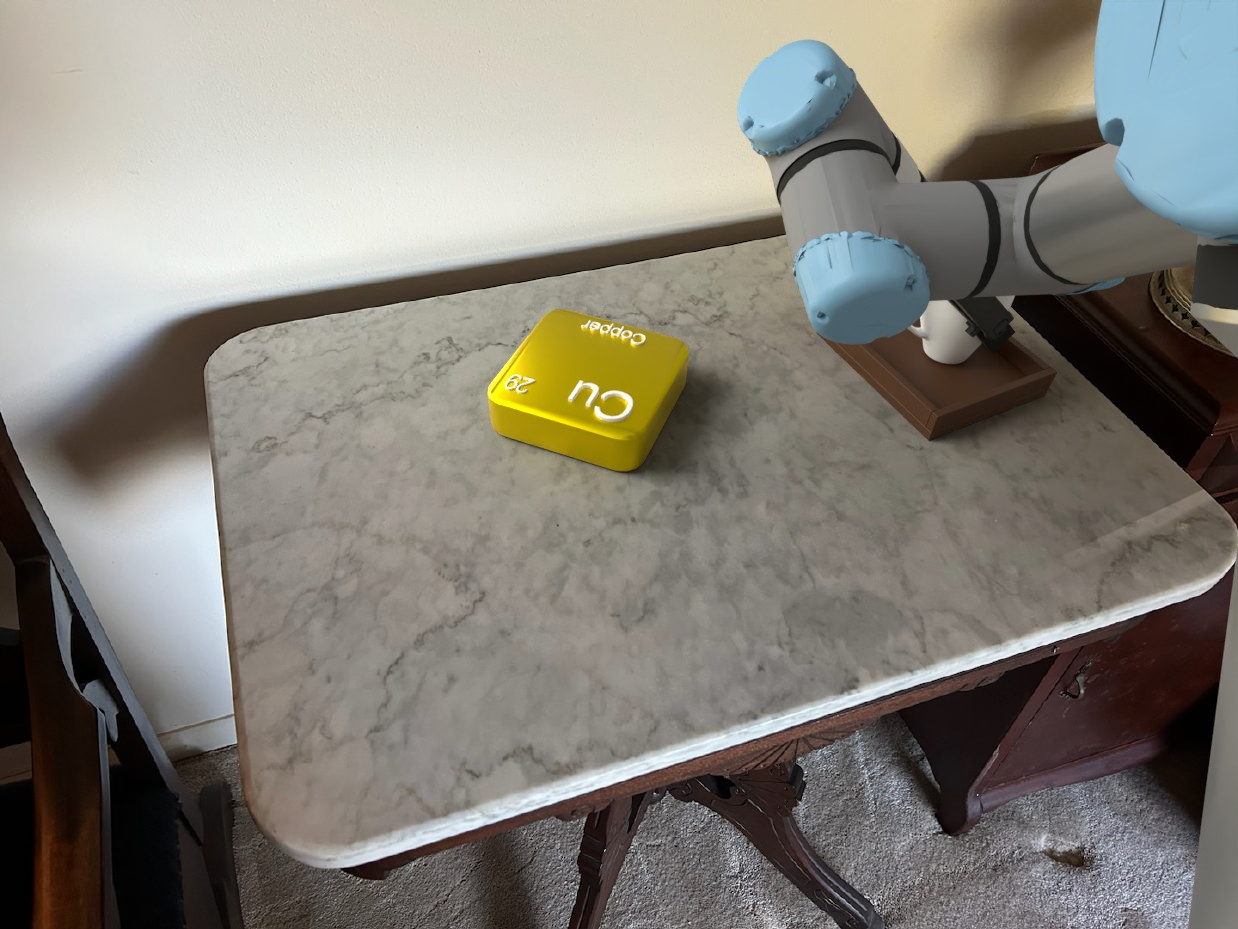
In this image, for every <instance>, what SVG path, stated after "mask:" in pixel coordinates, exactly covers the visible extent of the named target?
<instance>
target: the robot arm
mask: <svg viewBox="0 0 1238 929" xmlns="http://www.w3.org/2000/svg"><path fill="white" fill-rule="evenodd" d="M1100 3H1101V4H1100V8H1099V14H1098V20H1097V27H1096V35H1095V43H1094V54H1093V55H1094V56H1093V93H1094V94H1093V95H1094V108H1095V113H1096V119H1097V123H1098V128H1099V131H1100V133H1101V137H1102V139H1103V141H1104V142H1107V143H1105V144H1104V145H1101V146H1099V147H1097V148H1094V149H1092V150H1090V151H1087V152H1085V153H1083V154H1080V155H1078V156H1076V157H1074V158H1071V159H1070V160H1068V161H1065V162H1063V163H1061V164H1058V165H1057V166H1053V167H1052V168H1049V169H1046V170H1043V171H1041V172H1039V173H1037V174H1032V175H1029V176H1022V177H1008V178H1007V177H1006V178H994V179H992V178H991V179H964V180H949V181H947V180H946V181H928V180H927V178H926V177H925V176H924V174H923V173H922V171H921V170H920V169H919V166H918V163H917V162H916V161H915V160H914V159H913V157H912V156H911V154H910V153H909V152H908V150H907V148H906V147H905V146H904V144H903V143H902V141H901V140H900V139H899V137H898V136H897V135H896V133H895V132H894V131H893V130H892V129H890V127H889V125H888V123H887V122H886V120H884V117H882V115H881V113H880V112H879V111H878V109H877V108H876V106H875V105H874V103H873V102H872V100H871V99H870V97H869V96H868V94H867V93H866V91H865V90H864V88H863V87H862V85H861V83H860V82H859V80H858V79H857V75H856V72H855V71H854V69H853V67H849V65H848V64H847V63H846V62H845V61H844V60H843V59H842V58H841V56H839V54H838V53H836V51H835V50H834V49H833V48H832V47H831V46H829V44H827V43H826V42H824V41H823V42H822V41H820V40H816V39H800V40H796V41H791V42H789V43H787V44H785V45H782V46H781V47H779V48H778V49H777V50H776V51H774V52H773V53H772V54H771V55H769V56H766V57H765V58H763V60H762V61H760V62H759V64H757V65H756V67H755V68H754V69H753V70H752V71H751V73H750V74H749V75H748V76H747V79H746V81H745V82H744V84H743V87H742V89H741V91H740V92H739V93H740V94H739V97H738V101H737V108H736V117H737V118H736V119H737V123H738V125H739V128H740V131H741V132H742V133H743V135H744V136H745V137H746V139H747V140H748V142H750V147H751V149H752V150H753V151H754V152H755V153H757V155H760V156H762V157H763V158H764V160H765V161H766V163H767V165H768V168H769V171H770V174H771V179H772V183H773V187H774V192H775V195H776V199H777V203H778V205H779V207H780V212H781V216H782V222H783V227H784V231H785V235H786V241H787V244H788V249H789V254H790V258H791V259H790V260H791V263H792V269H791V270H792V276H794V284H796V286H797V288H798V290H799V292H800V296H801V299H802V302H803V305H804V309H805V311H806V315H807V318H808V321H809V323H810V325H811V326H812V329H813V330H814V331H815V332H817V333H818V334H820V335H821V336H823V337H824V338H826V339H828V340H831V341H833V342H836V343H841V344H866V343H871V342H872V341H874V340H875V339H877V338H880V337H891V336H894V335H896V334H898V333H900V332H902V331H904V330H905V329H907V328H908V327H910V326H911V325H913V324H914V323H915V322H916V321H917V320H918V319H919V318H920V317H921V316H922V315H923V313H924V312H925V310H926V308H927V306H928V303H929V301H940V300H947V301H948V302H949V303H950V304H951V305H952V306H953V307H954V308H955V309H956V310H957V311H958V312H959V313H960V314H961V315H962V316H963V317H964V318H965V319H966V320H967V322H966V324H967V325H968V328H967V329H966V330H965V332H966V333H968V334H969V335H970V336H971V337H974V336H975V335H976V336H977V337H978V339H979V340H980V341H981V342H982V343H983V345H984V346H985V347H986V348H987V349H988V350H989V351H990V352H991V353H994V352H995V351H996V350H997V349H998V348H1000V347H1001V346H1002V345H1003V344H1004V343H1005V342H1006V341H1007V340H1008V339H1009V338H1010V337H1011V336H1012V337H1013V335H1014V334H1015V333H1016V331H1015V329H1014V328H1013V327H1012V326H1011V324H1010V323H1011V322H1012V321H1014V320H1015V317H1014V316H1013V313H1012V312H1011V311H1009V310H1008V311H1007V309H1006V308H1005V307H1004V306H1003V305H1002V303H1001V302H1000V301H999V300H998V299H997V298H996V296H1015V297H1016V296H1036V295H1037V296H1038V295H1053V296H1067V295H1068V296H1069V295H1079V294H1085V293H1088V292H1091V291H1100V290H1101V291H1103V290H1106V289H1107V290H1108V289H1110V288H1113V287H1116V286H1118V285H1119V284H1122V283H1123V282H1124V281H1125V279H1126V278H1129V277H1135V276H1139V275H1145V274H1150V273H1156V272H1161V271H1167V270H1170V269H1176V268H1177V269H1178V268H1182V267H1188V266H1193V265H1195V266H1194V273H1193V274H1194V275H1193V283H1192V294H1191V300H1190V316H1192V318H1193V319H1195V320H1196V321H1197V322H1198V323H1199V324H1200V325H1201V326H1202V327H1203V328H1205V329H1206V330H1207V331H1208V332H1209V333H1210V334H1211V335H1212V336H1213V337H1214V338H1215V339H1216V340H1217V341H1218V342H1220V343H1221V344H1222V346H1224V347H1225V348H1226V349H1227V350H1228V351H1229V352H1230V353H1231V354H1232V355H1233V356H1235V357H1236V358H1237V359H1238V0H1101V2H1100ZM817 333H816V334H817ZM818 334H817V335H818ZM1235 555H1236V556H1235V563H1234V569H1233V570H1234V571H1233V578H1232V579H1233V580H1232V584H1231V585H1232V586H1231V595H1230V602H1229V610H1228V616H1227V624H1226V633H1225V639H1224V640H1225V641H1224V647H1223V654H1222V655H1223V656H1222V664H1221V670H1220V677H1219V678H1220V679H1219V687H1218V692H1217V702H1216V708H1215V715H1214V725H1213V732H1212V733H1213V734H1212V740H1211V746H1210V753H1209V754H1210V755H1209V764H1208V771H1207V776H1206V778H1207V779H1206V785H1205V793H1204V800H1203V809H1202V816H1201V825H1200V831H1199V833H1200V834H1199V840H1198V847H1197V854H1196V863H1195V869H1194V878H1193V886H1192V892H1191V901H1190V909H1189V915H1188V916H1189V917H1188V922H1187V929H1238V546H1237V548H1236V554H1235Z"/></svg>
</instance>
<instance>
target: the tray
mask: <svg viewBox="0 0 1238 929" xmlns="http://www.w3.org/2000/svg"><path fill="white" fill-rule="evenodd" d="M912 326H914V327H916V328H920V327H921V322H920V318H919V319H918V320H917V321H916V322H915V323H914V324H913V325H912ZM815 332H816V331H815ZM816 335H818V336H819V337H820V338H821V339H822V340H823V341H824V342H825V343H826V344H827V345H828V346H829V347H830V348H831V349H832V350H833V351H835V353H837V354H838V355H839V356H840V358H842V359H843V360H844V361H845V362H846V363H847V364H848V366H850V367H851V368H852V369H853V370H854V371H855V372H856V373H857V374H858V375H860V377H862V378H863V379H864V380H865V381H866V383H867V384H868V385H870V386H871V387H872V388H873V389H874V390H875V391H876V392H877V393H878V394H879V395H880V396H881V397H882V398H884V400H886V402H888V403H889V404H890V405H891V406H892V407H893V409H895V410H896V411H897V412H898V413H899V414H900V415H901V416H902V417H903V418H904V419H905V420H906V421H907V422H908V423H909V424H910V425H911V426H912V427H914V428H915V429H916V430H917V431H918V432H919V433H920V434H921V435H922V436H923V437H924V438H925V439H926V440H927V441H931V440H934V439H936V438H939V437H942V436H944V435H946V434H949V433H952V432H955V431H957V430H960V429H962V428H964V427H967V426H970V425H973V424H975V423H978V422H980V421H983V420H985V419H988V418H990V417H993V416H995V415H998V414H1001V413H1004V412H1006V411H1008V410H1011V409H1014V408H1017V407H1018V406H1022V405H1024V404H1027V403H1029V402H1032V401H1034V400H1037V399H1039V398H1042V397H1044V396H1045V397H1046V395H1047V393H1048V392H1049V389H1050V387H1051V386H1052V384H1053V381H1055V380H1054V379H1055V378H1056V376H1057V374H1058V371H1057V370H1056V369H1055V368H1053V367H1052V366H1051V365H1050V364H1048V363H1047V362H1046V361H1044V360H1043V359H1042V358H1041V357H1039V356H1038V355H1036V353H1034V352H1033V351H1031V350H1030V349H1029V348H1027V347H1026V346H1025V344H1023V343H1021V342H1020V341H1018V340H1017V339H1016V338H1015V337H1014V336H1013V335H1012V336H1011V337H1010V338H1009V339H1008V340H1007V341H1006V342H1005V343H1004V344H1003V345H1002V346H1001V347H1000V348H998V349H997V350H996V351H995V352H994V353H991V352H990V351H989V350H988V349H987V348H986V347H985V346H984V345H983V343H981V345H980V346H979V347H978V348H977V349H976V350H975V351H974V352H973V353H972V354H971V355H970V356H969V357H968V358H967V359H966V360H965V361H963V362H961V363H958V364H945V363H941V362H938V361H935V360H933V359H932V358H930V357H929V356H928V355H927V354H926V353H925V351H924V348H923V339H922V338H920V337H918V336H916V335H915V334H914V333H912V332H911V331H910V330H909V329H905V330H904V331H902V332H900V333H898V334H896V335H894V336H891V337H880V338H877V339H875V340H874V341H872V342H871V343H866V344H841V343H836V342H833V341H831V340H828V339H826V338H824V337H823V336H821V335H820V334H818V333H817V332H816Z"/></svg>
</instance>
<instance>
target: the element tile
mask: <svg viewBox="0 0 1238 929" xmlns="http://www.w3.org/2000/svg"><path fill="white" fill-rule="evenodd" d="M689 357H690V352H689V346H688V345H687V344H686V343H685V342H684V341H683V340H681V339H679V338H677V337H674V336H670V335H666V334H663V333H659V332H655V331H652V330H648V329H644V328H640V327H637V326H633V325H630V324H625V323H621V322H617V321H613V320H609V319H607V318H603V317H600V316H599V317H598V316H595V315H591V314H587V313H584V312H581V311H577V310H576V311H575V310H572V309H565V308H564V309H563V308H555V309H553V310H551V311H549V312H547V313H546V314H544V315H543V316H542V317H541V318H540V320H539V321H538V322H537V324H536V325H535V326H534V327H533V329H532V330H531V332H530V333H529V334H528V335H527V336H526V338H525V339H524V340H523V342H522V343H520V345H519V347H518V348H517V349H516V351H515V352H514V353H513V354H512V355H511V357H510V358H509V360H508V361H507V362H506V363H505V364H504V366H503V367H502V368H501V370H500V371H499V372H498V373H497V375H496V376H495V377H494V378H493V380H492V381H491V382H490V384H489V385H488V389H487V401H488V409H489V417H490V424H491V425H492V428H493V431H495V432H496V433H497V434H499V435H500V436H503V437H505V438H508V439H512V440H514V441H518V442H521V443H525V444H528V445H531V446H535V447H538V448H541V449H544V450H547V451H550V452H553V453H557V454H560V455H563V456H567V457H569V458H573V459H576V460H580V461H582V462H585V463H589V464H593V465H596V466H598V467H602V468H605V469H609V470H611V471H615V472H631V471H634V470H636V469H638V468H639V467H641V466H642V465H643V463H645V461H646V460H647V458H648V456H649V454H650V452H651V450H652V448H653V446H654V445H655V443H656V441H657V439H658V437H659V435H660V433H661V432H662V430H663V428H664V426H665V424H666V422H667V420H668V418H669V417H670V415H671V414H672V411H673V409H674V407H675V405H676V404H677V402H678V400H679V398H680V396H681V395H682V392H683V390H684V389H685V386H686V383H687V375H688V367H689V366H688V365H689Z"/></svg>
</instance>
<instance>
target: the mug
mask: <svg viewBox="0 0 1238 929" xmlns="http://www.w3.org/2000/svg"><path fill="white" fill-rule="evenodd" d="M1015 297H1016V296H996V298H997V299H998V300H999V301H1000V302H1001V303H1002V305H1003V306H1004V307H1005V308H1006V309H1007V311H1009V310H1010V308H1011V306H1012V304H1013V302H1014V299H1015ZM920 322H921V327H920V328H916V327H914V326H912V325H911V326H910V327H908V328H907V329H909V330H910V331H911V332H912V333H914V334H915V335H916V336H918V337H920V338H922V339H923V348H924V351H925V353H926V354H927V355H928V356H929V357H930V358H932V359H933V360H935V361H938V362H941V363H945V364H958V363H961V362H963V361H965V360H966V359H967V358H968V357H969V356H970V355H971V354H972V353H973V352H974V351H975V350H976V349H977V348H978V347H979V346H980V345H981V343H982V342H981V341H980V340H979V339H978V337H977V336H976V335H975V336H974V337H971V336H970V335H969V334H968V333H966V332H965V330H966V329H967V328H968V325H967V324H966V322H967V320H966V319H965V318H964V317H963V316H962V315H961V314H960V313H959V312H958V311H957V310H956V309H955V308H954V307H953V306H952V305H951V304H950V303H949V302H948V301H947V300H940V301H929V303H928V306H927V308H926V310H925V312H924V313H923V315H922V316H921V317H920Z"/></svg>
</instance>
